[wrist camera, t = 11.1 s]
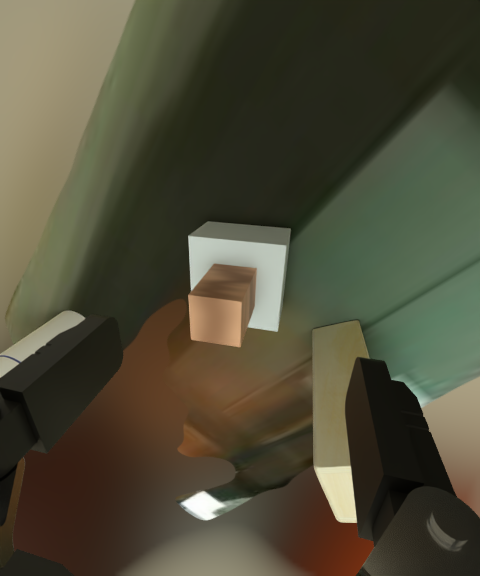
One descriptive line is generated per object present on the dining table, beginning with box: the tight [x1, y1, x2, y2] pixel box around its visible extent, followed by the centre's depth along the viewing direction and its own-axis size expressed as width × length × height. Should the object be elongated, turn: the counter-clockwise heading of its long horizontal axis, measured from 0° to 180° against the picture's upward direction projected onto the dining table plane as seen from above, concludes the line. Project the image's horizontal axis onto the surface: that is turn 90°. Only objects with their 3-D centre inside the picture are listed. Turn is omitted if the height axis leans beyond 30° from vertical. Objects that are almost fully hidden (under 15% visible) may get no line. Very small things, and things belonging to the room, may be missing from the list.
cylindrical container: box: [0, 311, 85, 378], centre depth 43 cm, size 7×7×25 cm
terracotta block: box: [188, 264, 257, 347], centre depth 32 cm, size 5×5×8 cm
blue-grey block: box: [188, 221, 291, 332], centre depth 38 cm, size 11×11×7 cm
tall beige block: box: [312, 320, 370, 523], centre depth 34 cm, size 8×7×21 cm
